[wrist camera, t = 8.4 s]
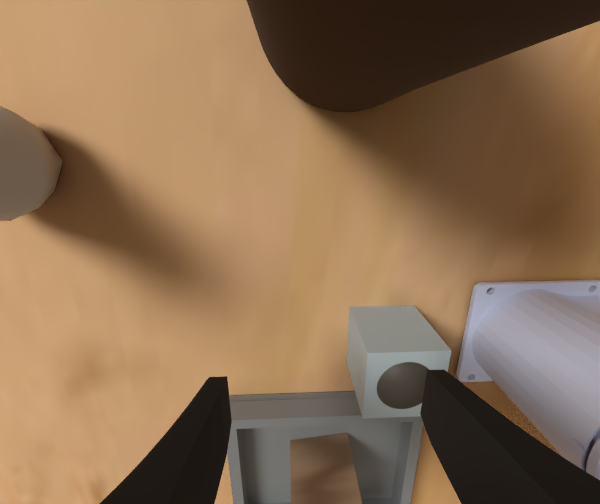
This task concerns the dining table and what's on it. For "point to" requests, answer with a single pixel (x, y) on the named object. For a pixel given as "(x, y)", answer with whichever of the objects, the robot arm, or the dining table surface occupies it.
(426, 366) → the wide bore block
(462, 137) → the dining table surface
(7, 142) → the salt shaker
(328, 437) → the small bore block
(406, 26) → the olive oil
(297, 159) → the dining table surface
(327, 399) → the tray
